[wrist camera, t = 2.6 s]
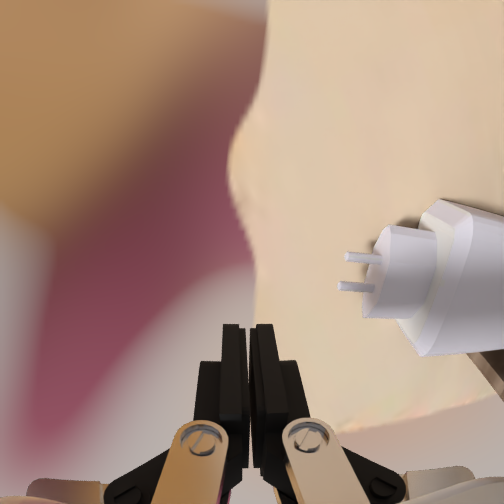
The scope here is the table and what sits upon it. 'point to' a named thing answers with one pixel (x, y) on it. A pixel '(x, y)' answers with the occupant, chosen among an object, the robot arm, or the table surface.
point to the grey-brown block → (491, 368)
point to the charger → (439, 280)
